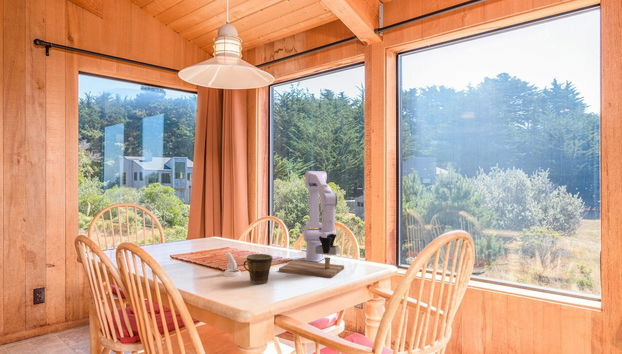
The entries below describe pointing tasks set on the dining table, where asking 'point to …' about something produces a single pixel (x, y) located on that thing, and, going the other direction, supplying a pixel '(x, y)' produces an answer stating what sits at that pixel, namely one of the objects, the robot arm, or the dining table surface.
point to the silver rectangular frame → (332, 250)
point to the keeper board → (312, 268)
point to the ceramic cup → (258, 267)
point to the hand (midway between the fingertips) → (327, 251)
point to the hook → (231, 267)
